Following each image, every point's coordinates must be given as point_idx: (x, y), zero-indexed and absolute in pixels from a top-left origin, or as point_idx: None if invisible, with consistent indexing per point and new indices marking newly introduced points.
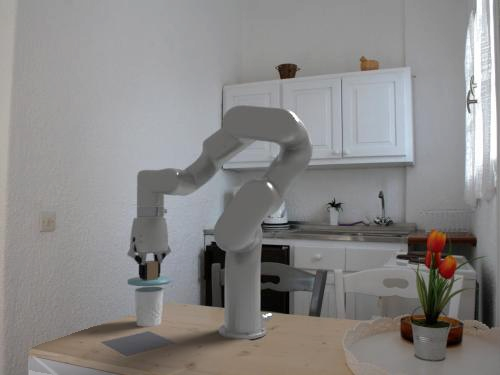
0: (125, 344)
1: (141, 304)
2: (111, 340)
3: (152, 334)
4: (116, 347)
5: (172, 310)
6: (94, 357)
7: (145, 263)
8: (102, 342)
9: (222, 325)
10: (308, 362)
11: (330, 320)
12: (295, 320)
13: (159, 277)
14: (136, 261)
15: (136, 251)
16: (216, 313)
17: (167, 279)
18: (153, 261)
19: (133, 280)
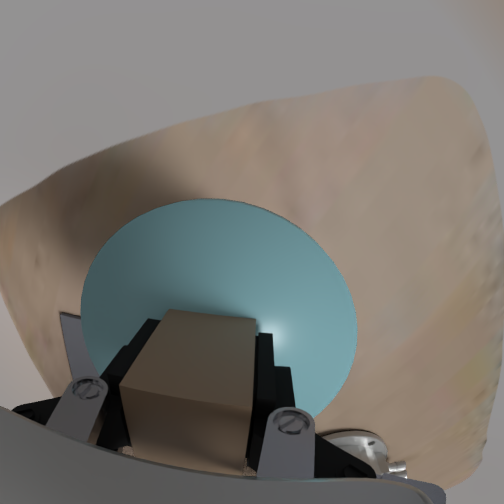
0: (94, 369)
1: None
2: (78, 324)
3: None
4: (76, 368)
5: (416, 168)
6: (42, 362)
7: (133, 436)
8: (61, 319)
9: (334, 440)
10: None
11: (467, 466)
12: (454, 448)
13: (304, 342)
14: (56, 404)
15: (14, 422)
16: (456, 314)
17: None
18: (220, 453)
19: (112, 305)
